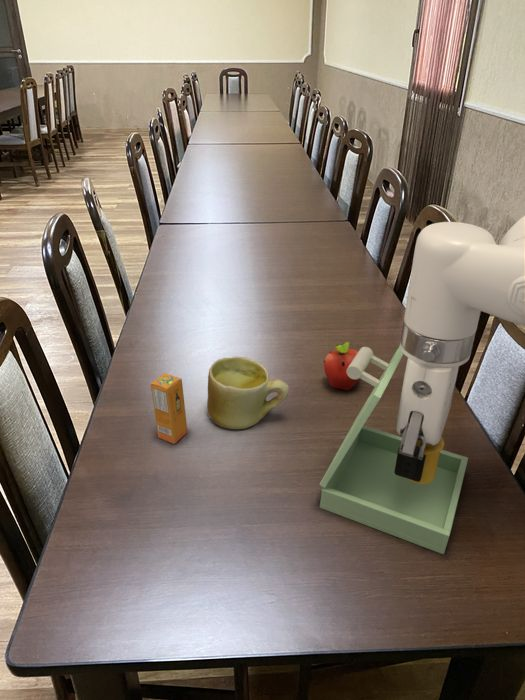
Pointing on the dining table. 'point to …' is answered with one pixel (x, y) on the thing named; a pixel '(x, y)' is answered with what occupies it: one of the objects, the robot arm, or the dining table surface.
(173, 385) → the supplement box
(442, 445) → the cup
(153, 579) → the dining table surface
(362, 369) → the lid
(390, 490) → the green tray box
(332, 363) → the apple
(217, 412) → the mug
